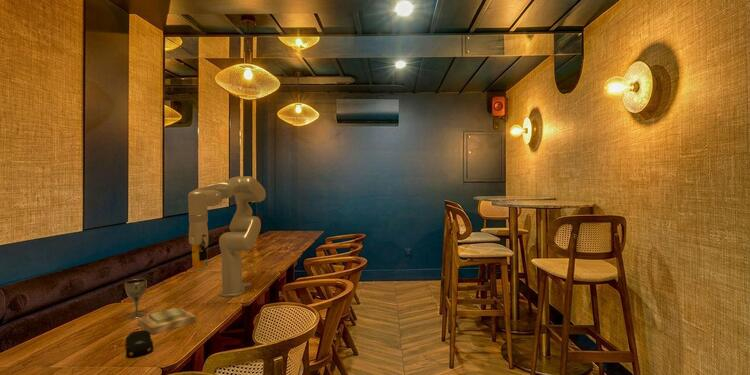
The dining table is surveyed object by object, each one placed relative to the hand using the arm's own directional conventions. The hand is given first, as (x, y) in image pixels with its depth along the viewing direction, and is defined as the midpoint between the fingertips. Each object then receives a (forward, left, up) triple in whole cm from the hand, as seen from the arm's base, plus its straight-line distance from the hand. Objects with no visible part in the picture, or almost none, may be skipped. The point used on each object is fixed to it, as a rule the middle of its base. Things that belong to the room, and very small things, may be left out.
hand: (200, 258), depth 161 cm
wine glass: (+20, -17, -23) cm, 35 cm away
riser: (+15, +4, -23) cm, 28 cm away
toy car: (+30, +21, -24) cm, 43 cm away
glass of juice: (0, 0, -5) cm, 5 cm away
